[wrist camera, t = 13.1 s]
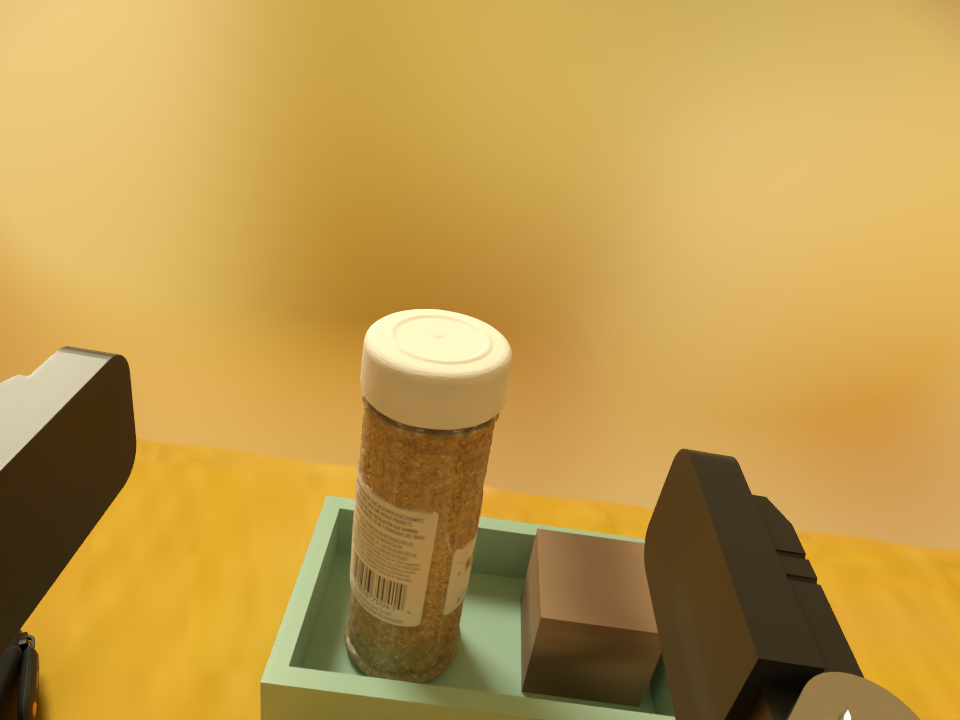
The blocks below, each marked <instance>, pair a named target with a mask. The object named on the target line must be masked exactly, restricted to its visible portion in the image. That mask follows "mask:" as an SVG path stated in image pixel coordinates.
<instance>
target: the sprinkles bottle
mask: <svg viewBox="0 0 960 720" xmlns="http://www.w3.org/2000/svg"><path fill="white" fill-rule="evenodd" d="M512 358H513V357H512V350H511V347H510V345H509V343H508V341H507V340H506V339H505V338H504V336H503V335H502V334H501V333H499V332H498V331H497V330H496V329H494V328H493V327H491V326H490V325H488V324H486V323H484V322H482V321H480V320H478V319H475V318H473V317H470V316H466V315H463V314H459V313H454V312H449V311H443V310H433V309H419V310H417V309H416V310H407V311H401V312H397V313H393V314H391V315H388V316H385V317H384V318H381V319H380V320H378V321H377V322H375V323H374V324H373V325H372V326H371V327H370V329H369V330H368V331H367V333H366V336H365V339H364V346H363V354H362V365H361V380H360V384H361V390H362V393H363V395H364V396H363V397H362V399H363V402H364V406H365V407H364V414H363V426H362V437H361V440H362V442H361V455H360V458H359V461H358V467H357V480H356V493H355V506H354V519H353V533H352V548H351V564H350V583H351V595H350V605H349V609H350V611H349V617H348V619H347V622H346V624H345V630H344V639H345V646H346V649H347V653H348V655H349V656H350V658H351V659H352V661H353V662H354V663H355V665H356V666H357V667H359V668H360V669H361V670H362V672H363V673H365V674H367V675H368V676H370V677H374V678H382V679H389V680H397V681H404V682H412V683H420V684H421V683H426V682H427V681H429V680H431V679H432V678H435V677H437V676H438V675H439V674H440V673H442V672H443V671H444V670H445V668H446V667H447V666H448V665H449V664H450V663H451V661H452V660H453V659H454V657H455V655H456V653H457V651H458V647H459V642H460V626H459V625H460V619H461V615H462V608H463V601H464V597H465V594H466V592H467V588H468V583H469V577H470V572H471V566H472V560H473V555H474V549H475V543H476V537H477V531H478V525H479V519H480V514H481V508H482V499H483V483H484V479H485V475H486V471H487V464H488V458H489V453H490V446H491V443H492V434H493V429H494V422H495V421H496V420H497V419H498V417H499V412H500V411H501V409H502V407H503V406H504V404H505V401H506V396H507V390H508V386H509V379H510V373H511V366H512Z"/></svg>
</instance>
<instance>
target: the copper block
mask: <svg viewBox="0 0 960 720" xmlns="http://www.w3.org/2000/svg"><path fill="white" fill-rule="evenodd" d="M644 545H645V543H639V542H632V541H625V540H617V539H610V538H603V537H596V536H588V535H581V534H574V533H567V532H560V531H552V530H545V529H538V528H537V532H536V536H535V540H534V544H533V549H532V553H531V557H530V561H529V565H528V570H527V574H526V578H525V582H524V586H523V591H522V595H521V692H527V693H535V694H542V695H550V696H558V697H565V698H573V699H581V700H588V701H596V702H603V703H611V704H619V705H626V706H634V707H640V706H641V703H642V700H643V698H644V695H645V693H646V690H647V688H648V685H649V683H650V680H651V677H652V675H653V672H654V670H655V667H656V665H657V662H658V659H659V657H660V654H661V652H662V651H661V646H660V641H659V636H658V631H657V626H656V621H655V616H654V611H653V606H652V601H651V596H650V592H649V587H648V582H647V577H646V572H645V566H644Z"/></svg>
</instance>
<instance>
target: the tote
mask: <svg viewBox="0 0 960 720" xmlns="http://www.w3.org/2000/svg"><path fill="white" fill-rule="evenodd" d="M354 506H355V499H350V498H343V497H335V496H328V495H327V496H326V499H325V502H324V505H323V507H322V510H321V513H320V516H319V519H318V521H317V524H316V527H315V530H314V533H313V536H312V538H311V541H310V544H309V547H308V550H307V552H306V555H305V558H304V561H303V564H302V567H301V569H300V572H299V575H298V578H297V581H296V584H295V586H294V589H293V592H292V595H291V598H290V600H289V603H288V606H287V609H286V612H285V615H284V617H283V620H282V623H281V626H280V629H279V631H278V634H277V637H276V640H275V643H274V646H273V648H272V651H271V654H270V657H269V660H268V663H267V665H266V668H265V671H264V674H263V677H262V679H261V720H676V719H675V715H674V710H673V705H672V700H671V695H670V690H669V685H668V680H667V675H666V670H665V665H664V660H663V656H662V652H661V654H660V657H659V659H658V662H657V665H656V667H655V670H654V672H653V675H652V677H651V680H650V683H649V685H648V688H647V690H646V693H645V695H644V698H643V700H642V703H641V706H640V707H634V706H626V705H619V704H611V703H603V702H596V701H588V700H581V699H573V698H565V697H558V696H550V695H542V694H535V693H527V692H521V595H522V591H523V586H524V582H525V578H526V574H527V570H528V565H529V561H530V557H531V553H532V549H533V544H534V540H535V536H536V532H537V528H538V529H545V530H552V531H560V532H567V533H574V534H581V535H588V536H596V537H603V538H610V539H617V540H625V541H632V542H639V543H645V539H639V538H632V537H624V536H617V535H610V534H603V533H596V532H588V531H581V530H574V529H567V528H559V527H552V526H545V525H538V524H530V523H523V522H516V521H509V520H502V519H494V518H487V517H480V519H479V525H478V531H477V537H476V543H475V549H474V555H473V560H472V566H471V572H470V577H469V583H468V588H467V592H466V594H465V597H464V601H463V608H462V615H461V619H460V625H459V626H460V642H459V647H458V651H457V653H456V655H455V657H454V659H453V660H452V661H451V663H450V664H449V665H448V666H447V667H446V668H445V670H444V671H443V672H442V673H440V674H439V675H438V676H437V677H435V678H432V679H431V680H429V681H427V682H426V683H421V684H420V683H412V682H404V681H397V680H389V679H382V678H374V677H370V676H368V675H367V674H365V673H363V672H362V670H361V669H360V668H359V667H357V666H356V665H355V663H354V662H353V661H352V659H351V658H350V656H349V655H348V653H347V649H346V646H345V639H344V630H345V624H346V622H347V619H348V617H349V611H350V609H349V605H350V595H351V583H350V564H351V548H352V533H353V519H354Z"/></svg>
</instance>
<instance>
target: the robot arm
mask: <svg viewBox="0 0 960 720" xmlns="http://www.w3.org/2000/svg"><path fill="white" fill-rule="evenodd" d="M132 402H133V401H132V390H131V380H130V370H129V365H128V362H127V360H126V359H125V358H124V357H123V356H122V355H118V354H111V353H105V352H99V351H93V350H87V349H81V348H75V347H68V346H67V347H63V348H61V349H59V350H58V351H57V352H55V353H54V354H53V355H52V356H51V357H50V358H49V359H48V360H46V361H45V362H44V363H43V364H42V365H41V366H40V367H38V368H37V369H36V370H35V371H34V372H33V373H32V374H31V375H29V376H24V375H16V376H14V377H12V378H10V379H7V380H5V381H3V382H1V383H0V656H1V655H2V653H3V652H4V651H5V649H6V648H7V647H8V645H9V644H10V642H11V641H12V640H13V638H14V637H15V636H16V634H17V633H18V631H19V630H20V629H21V627H22V626H23V624H24V623H25V622H26V620H27V619H28V618H29V616H30V615H31V613H32V612H33V611H34V609H35V608H36V607H37V605H38V604H39V602H40V601H41V600H42V598H43V597H44V596H45V594H46V593H47V591H48V590H49V589H50V587H51V586H52V585H53V583H54V582H55V580H56V579H57V578H58V576H59V575H60V573H61V572H62V571H63V569H64V568H65V567H66V565H67V564H68V562H69V561H70V560H71V558H72V557H73V556H74V554H75V553H76V551H77V550H78V549H79V547H80V546H81V545H82V543H83V542H84V540H85V539H86V538H87V536H88V535H89V534H90V532H91V531H92V529H93V528H94V527H95V525H96V524H97V522H98V521H99V520H100V518H101V517H102V516H103V514H104V513H105V511H106V510H107V509H108V507H109V506H110V505H111V503H112V502H113V500H114V499H115V498H116V496H117V495H118V494H119V492H120V491H121V489H122V488H123V487H124V485H125V483H126V482H127V480H128V478H129V475H130V473H131V470H132V467H133V464H134V460H135V454H136V434H135V422H134V412H133V403H132ZM805 555H806V553H805V551H804V549H803V547H802V545H801V543H800V541H799V538H798V536H797V534H796V532H795V530H794V528H793V526H792V524H791V523H790V522H789V521H788V520H787V519H786V518H785V517H784V516H783V515H782V514H781V512H780V511H779V510H778V509H777V508H776V507H775V506H774V505H773V504H772V503H771V502H770V501H769V500H768V499H767V498H766V497H763V496H756V495H752V494H751V491H750V489H749V487H748V485H747V482H746V480H745V477H744V475H743V473H742V470H741V468H740V466H739V463H738V462H737V460H736V459H735V458H734V457H731V456H725V455H718V454H712V453H706V452H700V451H694V450H688V449H681V450H680V451H679V452H678V453H677V454H676V456H675V458H674V460H673V462H672V465H671V468H670V470H669V473H668V475H667V478H666V481H665V483H664V486H663V489H662V491H661V494H660V497H659V499H658V502H657V505H656V507H655V509H654V512H653V515H652V517H651V520H650V523H649V525H648V529H647V533H646V538H645V545H644V566H645V572H646V577H647V582H648V587H649V592H650V596H651V601H652V606H653V611H654V616H655V621H656V626H657V631H658V636H659V641H660V646H661V651H662V656H663V660H664V665H665V670H666V675H667V680H668V685H669V690H670V695H671V700H672V705H673V710H674V715H675V719H676V720H920V719H919V718H918V716H917V715H916V714H915V713H914V712H913V711H912V710H911V709H910V708H909V707H908V706H907V705H905V704H904V703H903V702H902V701H901V700H900V699H898V698H897V697H896V696H894V695H893V694H892V693H890V692H889V691H887V690H886V689H884V688H882V687H881V686H879V685H877V684H875V683H874V682H871V681H869V680H867V679H865V678H864V676H863V674H862V672H861V670H860V668H859V666H858V664H857V661H856V659H855V657H854V655H853V653H852V651H851V649H850V647H849V644H848V642H847V640H846V638H845V636H844V634H843V632H842V630H841V628H840V625H839V623H838V621H837V619H836V617H835V615H834V613H833V611H832V608H831V606H830V604H829V602H828V600H827V598H826V596H825V594H824V591H823V589H822V587H821V585H817V577H816V575H815V572H814V570H813V568H812V566H811V564H810V562H809V560H806V559H805Z"/></svg>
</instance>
